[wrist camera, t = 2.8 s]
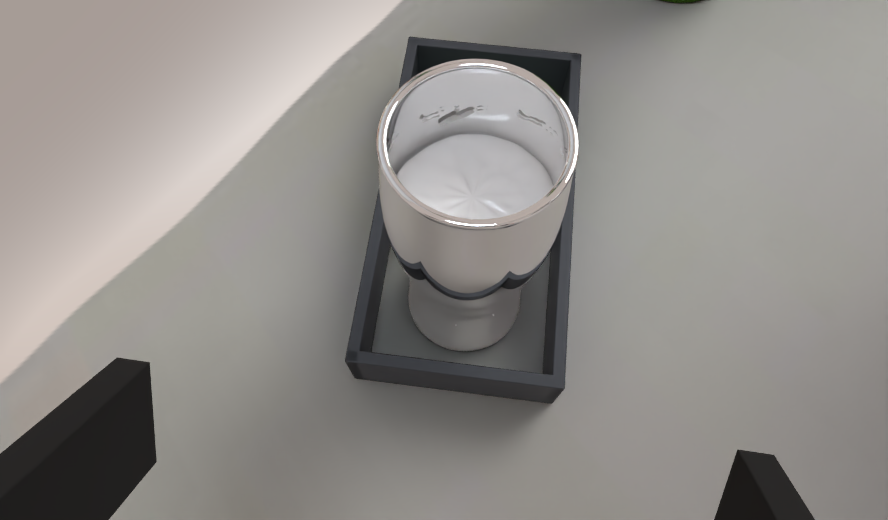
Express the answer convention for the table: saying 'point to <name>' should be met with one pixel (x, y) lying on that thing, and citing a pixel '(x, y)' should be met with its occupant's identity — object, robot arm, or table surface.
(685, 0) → the wine bottle
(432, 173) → the beer glass
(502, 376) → the rectangular tray
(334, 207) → the table surface
